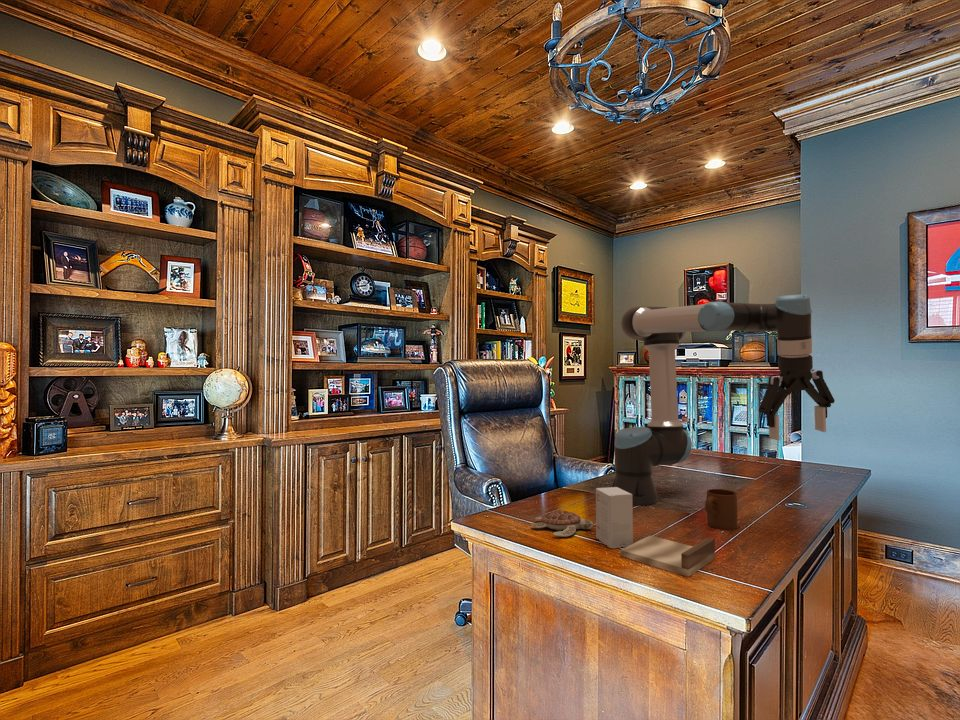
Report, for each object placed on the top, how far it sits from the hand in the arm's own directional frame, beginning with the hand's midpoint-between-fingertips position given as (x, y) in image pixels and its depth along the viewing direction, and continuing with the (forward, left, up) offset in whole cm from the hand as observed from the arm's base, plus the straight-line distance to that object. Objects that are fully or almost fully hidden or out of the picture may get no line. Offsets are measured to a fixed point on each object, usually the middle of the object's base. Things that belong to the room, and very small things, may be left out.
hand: (797, 434), depth 131 cm
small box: (-31, -40, -26) cm, 57 cm away
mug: (-17, -10, -26) cm, 33 cm away
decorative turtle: (-47, -40, -27) cm, 67 cm away
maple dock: (-17, -40, -26) cm, 50 cm away
